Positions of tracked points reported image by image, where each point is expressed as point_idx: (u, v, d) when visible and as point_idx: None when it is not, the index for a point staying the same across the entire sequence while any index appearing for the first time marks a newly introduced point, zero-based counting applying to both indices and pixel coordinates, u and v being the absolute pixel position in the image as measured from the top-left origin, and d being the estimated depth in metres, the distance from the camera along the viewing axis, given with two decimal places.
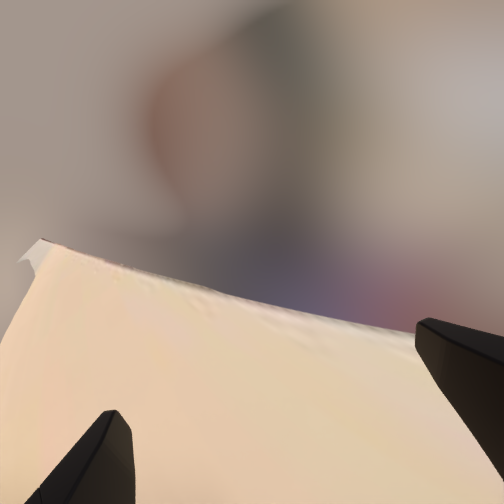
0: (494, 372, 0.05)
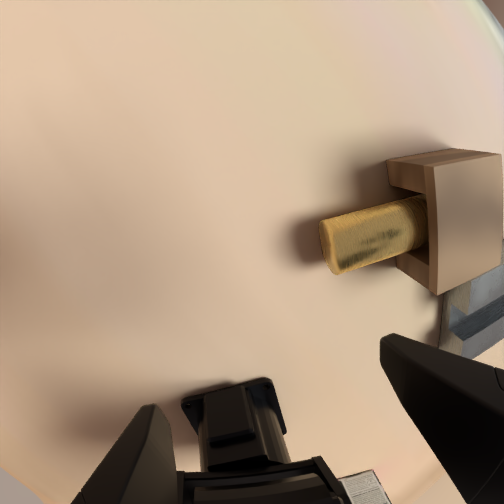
0: (455, 399, 0.05)
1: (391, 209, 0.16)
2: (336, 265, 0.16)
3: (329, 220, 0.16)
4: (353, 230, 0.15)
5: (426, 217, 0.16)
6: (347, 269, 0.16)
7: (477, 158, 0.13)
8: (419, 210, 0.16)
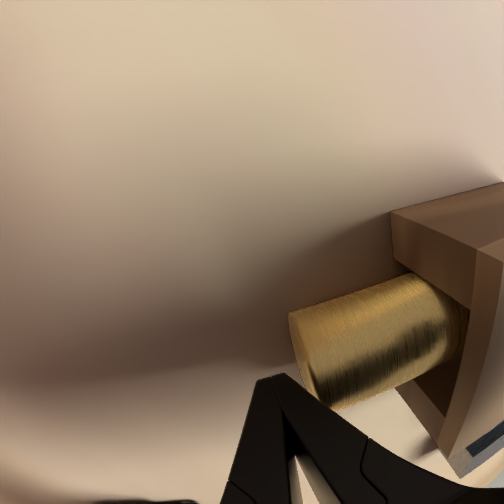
0: (312, 464, 0.05)
1: None
2: (317, 397, 0.07)
3: (299, 310, 0.08)
4: (345, 320, 0.07)
5: None
6: (340, 403, 0.07)
7: None
8: None
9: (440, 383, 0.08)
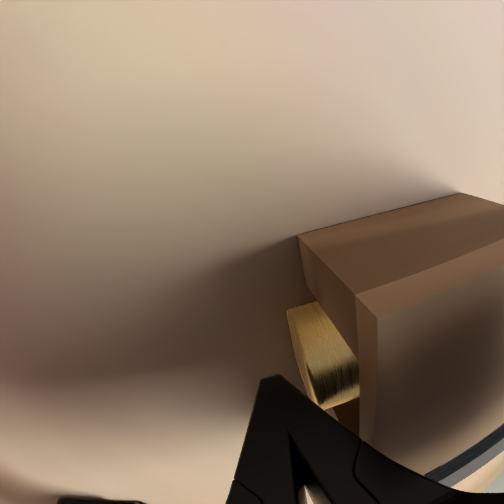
0: (305, 466, 0.05)
1: None
2: (314, 392, 0.07)
3: (296, 307, 0.08)
4: None
5: None
6: (336, 399, 0.07)
7: None
8: None
9: None
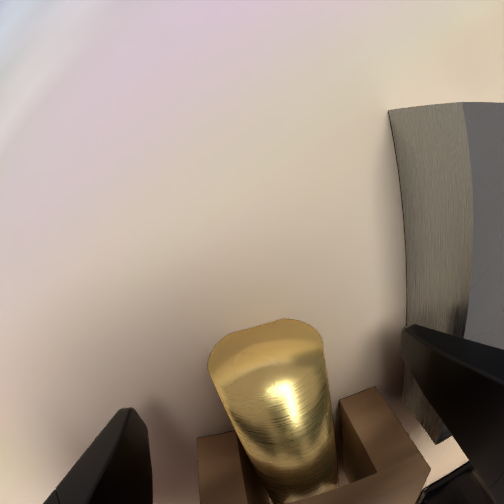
0: (478, 383, 0.05)
1: None
2: None
3: None
4: None
5: (272, 488, 0.09)
6: None
7: None
8: (264, 483, 0.09)
9: None
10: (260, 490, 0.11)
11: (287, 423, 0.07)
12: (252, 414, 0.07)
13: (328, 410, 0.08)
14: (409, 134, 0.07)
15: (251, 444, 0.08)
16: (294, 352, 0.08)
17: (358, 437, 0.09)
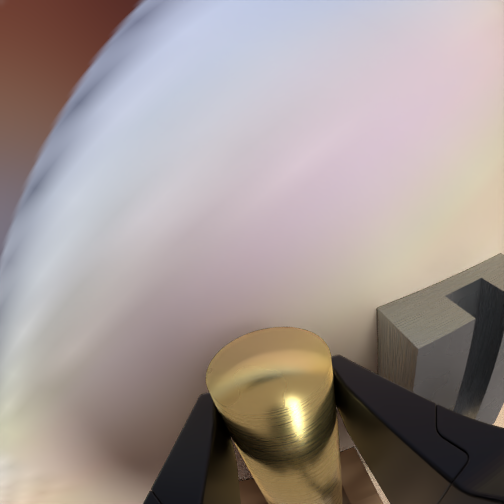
0: (386, 435, 0.05)
1: None
2: None
3: None
4: None
5: (277, 502, 0.08)
6: None
7: None
8: (267, 498, 0.08)
9: None
10: None
11: (297, 439, 0.06)
12: (260, 433, 0.06)
13: (335, 421, 0.07)
14: (387, 332, 0.11)
15: (256, 462, 0.07)
16: (300, 363, 0.07)
17: None
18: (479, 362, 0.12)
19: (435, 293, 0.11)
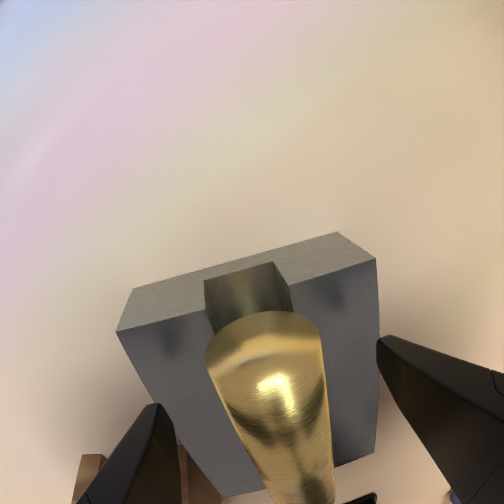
0: (450, 401, 0.05)
1: None
2: None
3: None
4: None
5: (272, 480, 0.09)
6: None
7: None
8: (262, 476, 0.09)
9: None
10: None
11: (290, 415, 0.07)
12: (254, 409, 0.07)
13: (326, 400, 0.08)
14: None
15: (252, 438, 0.08)
16: (292, 343, 0.08)
17: None
18: None
19: (197, 277, 0.11)
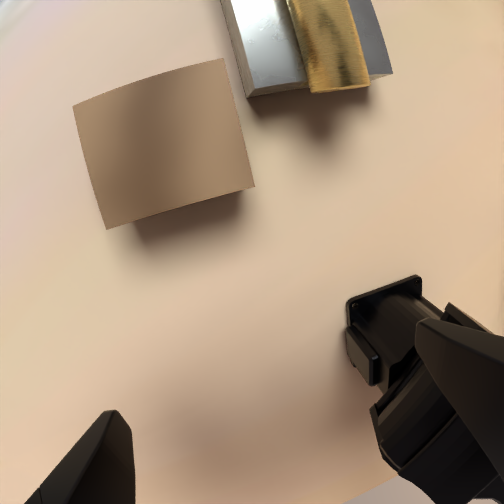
0: (494, 372, 0.05)
1: (296, 20, 0.12)
2: (358, 85, 0.13)
3: (310, 87, 0.14)
4: (319, 67, 0.12)
5: None
6: (363, 75, 0.12)
7: (84, 154, 0.12)
8: None
9: None
10: None
11: None
12: None
13: None
14: None
15: None
16: None
17: None
18: None
19: None
